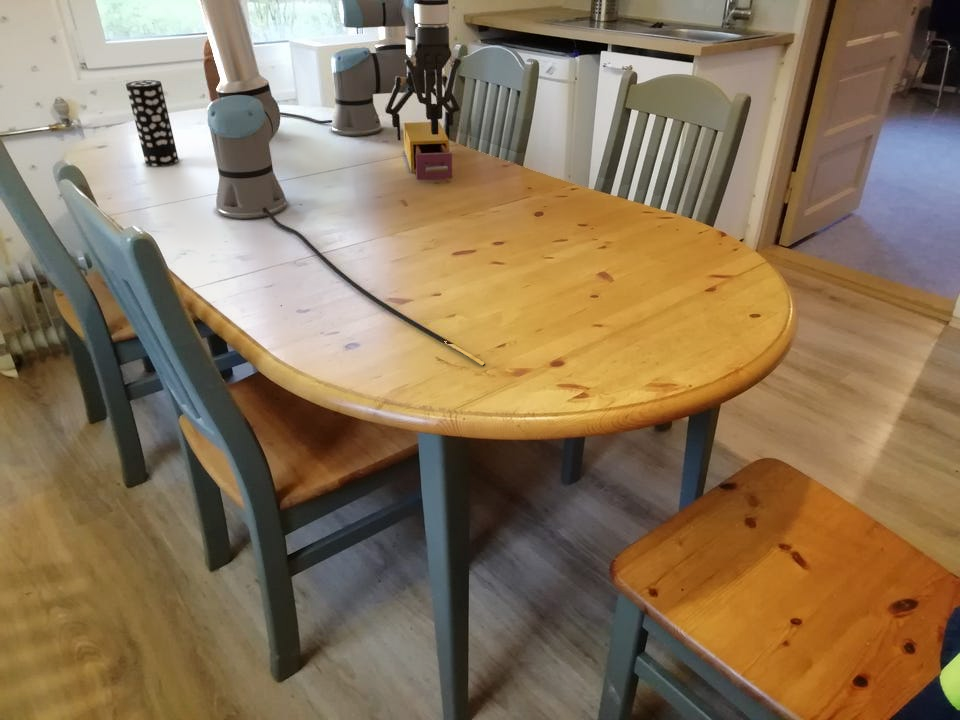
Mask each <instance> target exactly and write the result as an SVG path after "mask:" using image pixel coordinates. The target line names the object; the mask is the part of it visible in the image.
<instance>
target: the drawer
mask: <svg viewBox="0 0 960 720" xmlns="http://www.w3.org/2000/svg"><path fill="white" fill-rule="evenodd" d="M413 146H414V162H415V165H416V172H415V173H416V174H415V176H416V181H421V180H422V181H423V180H442V179H443V180H444V179H453V153H452V152H451V151H449V152H447V150H446V148H445V146H444V144H418V145H413Z"/></svg>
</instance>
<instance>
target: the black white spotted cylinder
mask: <svg viewBox="0 0 960 720" xmlns="http://www.w3.org/2000/svg"><path fill="white" fill-rule="evenodd" d="M125 87H126V91H127V95H128V99H129V103H130V107H131V110H132V115H133V118H134V122H135V123H134V124H135V127H136V130H137V134H138V139H139V143H140V146H141V150H142V155H143V158H144V163H145V164H146V165H147V166H151V167H164V166H170V165H174V164H176V163H178V162H179V155H178V150H177V146H176V142H175V137H174V133H173V128H172V125H171V121H170V116H169V111H168V107H167V103H166V98H165V93H164V89H163V84H162V81H161V80H155V79H154V80H153V79H151V80H150V79H145V80H144V79H141V80H134V81H130V82H129V81H128V82H127V83H126V84H125Z"/></svg>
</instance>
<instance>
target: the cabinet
mask: <svg viewBox="0 0 960 720" xmlns="http://www.w3.org/2000/svg"><path fill="white" fill-rule="evenodd" d="M402 125H403V126H402V127H403V142H404V143H403V144H404V145H403V146H404V154H405V158H406V160H407V164H408V167H409V170H410V173H411V174H412V173H414V174H415V173H416V165H415V162H414V146H413V145H418V144H444V146H445V148H446V150H447V152H450V138H449V139H448V137H447V135H446V134H445V130H444V128H443V127H442V125H441V123H440V121H438V134H436V135H432V133H431V121H421V122H403V124H402Z"/></svg>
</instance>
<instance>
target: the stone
mask: <svg viewBox="0 0 960 720" xmlns="http://www.w3.org/2000/svg"><path fill="white" fill-rule="evenodd" d="M202 53H203V59H202V62H203V63H202V64H203V70H204V76H205V81H206V87H207V89H208V95H209V100H210V104H211V103H212V102H213V101H215V100H217V99H219V96H218V93H217V87H218V86H219V84H220V82H221V78H220V75H219V71H218V68H217V64H216V61H215V57H214V54H213V50H212V47H211V43H210V40H209V36H208V37H207V38H206V40H205V41H204V44H203V45H202Z"/></svg>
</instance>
